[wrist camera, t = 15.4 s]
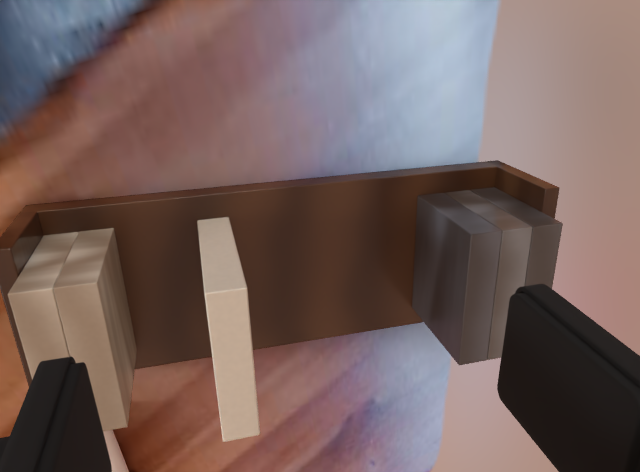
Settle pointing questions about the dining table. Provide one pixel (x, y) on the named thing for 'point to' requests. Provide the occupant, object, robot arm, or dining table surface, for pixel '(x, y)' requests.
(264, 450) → the dining table surface
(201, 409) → the dining table surface
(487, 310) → the book rack
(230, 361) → the beige book
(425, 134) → the dining table surface
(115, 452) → the beige rod
